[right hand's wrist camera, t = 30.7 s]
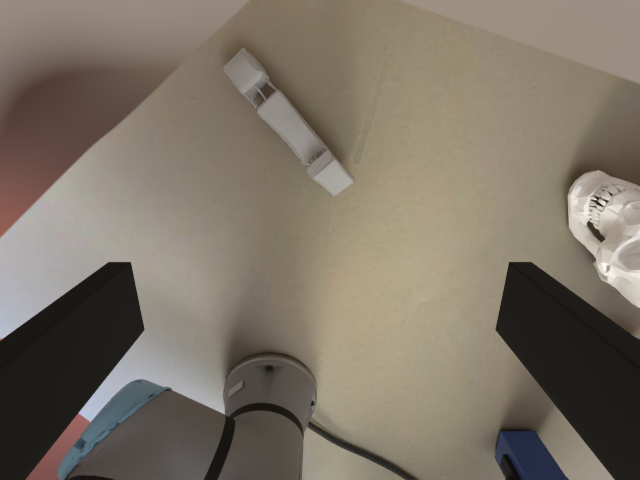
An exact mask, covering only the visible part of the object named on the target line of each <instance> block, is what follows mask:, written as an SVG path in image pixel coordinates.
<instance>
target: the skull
mask: <svg viewBox="0 0 640 480" xmlns="http://www.w3.org/2000/svg"><path fill="white" fill-rule="evenodd" d="M605 187H606V188H605ZM602 190H605V191H602ZM607 191H608V192H610V193H612V194H613V195H612V196H610V194H609V193H608V192H607ZM597 192H598V193H597ZM599 193H600V194H601V195H600V194H599ZM594 195H595V196H597V197H599V198H600V197H601V198H602V199H605V200H608V201H609V202H608V203H606V202H605V201H603V200H602V199H599V200H598V202H599V203H601V204H602V205H603V206H604V207H601V206H599V205H596V203H595V202H593V201H592V199H593V200H597V199H596V198H595V197H594ZM593 206H596V207H597V208H595V207H593ZM591 210H592V211H591ZM599 214H600V215H599ZM568 216H569V228H570V230H571V232H572V233H573V235H574V237H575V238H577V239H578V240H579V241H580V242H581V243H582V244H583V245H584V246H585V247H586V248H587V249H588V250H589V251H590V252H591V253H592V254H593V255H594V256H595V258H596V261H595V262H594V263H593V264H594V266H595V268H596V269H597V271H598V273H599V277H600V279H601V280H602V281H605V282H607V283H609V284H610V285H612V286H613V287H615V288H616V289H617V290H618V291H619V292H620V293H621V294H622V295H623V296H624V297H625V298H626V299H627V300H628V301H629V302H631V303H632V304H634V305H635V306H637V307H639V308H640V186H638V185H636V184H633V183H630V182H627V181H624V180H622V179H619V178H615V177H611V176H609V175H607V174H606V173H604V172H602V171H599V170H597V171H592V172H587V173H585V174H583V175H582V176H581V177H579V178H578V179H576V180H575V182H574V183H573V185H572V186H571V187H570V190H569V193H568ZM588 221H590V222H591V223H593V226H594V227H595V228H596V229H598V230H599V232H600V234H601V235H602V236H604V238H605V240H604V241H603V242H602V243H601V242H600V241H599V240H598V239H597V238H596V237H595V235H594V234H593V233H592V231H591V230H590V229H589V227H588V226H587V222H588Z"/></svg>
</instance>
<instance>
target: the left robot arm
mask: <svg viewBox="0 0 640 480" xmlns="http://www.w3.org/2000/svg"><path fill="white" fill-rule="evenodd" d="M500 467H501V469H502V471H503V473H504V475H505V477H506V479H505V480H521V479H520V477H519V475H518V473H517V471H516V470H515V468H514V466H513V464H512V462H511V460H510V459H509V457H508V455H507V454H503V455H502V459H501V463H500ZM566 478H567V477H566ZM567 479H568V478H567ZM568 480H569V479H568Z"/></svg>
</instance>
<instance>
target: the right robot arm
mask: <svg viewBox="0 0 640 480" xmlns="http://www.w3.org/2000/svg"><path fill="white" fill-rule="evenodd" d="M143 331H144V325H143V320H142V315H141V310H140V305H139V300H138V296H137V291H136V286H135V281H134V276H133V271H132V266H131V262H108V263H107V264H106V265H104V266H103V267H101V268H100V269H99V270H97V271H96V272H94V273H93V274H92V275H90V276H89V277H88V278H86V279H85V280H83V281H82V282H81V283H79V284H78V285H77V286H75V287H74V288H72V289H71V290H70V291H68V292H67V293H66V294H64V295H63V296H61V297H60V298H59V299H57V300H56V301H54V302H53V303H52V304H50V305H49V306H48V307H46V308H45V309H43V310H42V311H41V312H39V313H38V314H37V315H35V316H34V317H32V318H31V319H30V320H28V321H27V322H26V323H24V324H23V325H21V326H20V327H19V328H17V329H16V330H14V331H13V332H12V333H10V334H9V335H8V336H6V337H5V338H3V339H2V340H1V341H0V480H25V479H26V478H27V477H28V476H29V474H30V473H31V472H32V471H33V469H34V468H35V467H36V466H37V464H38V463H39V462H40V460H41V459H42V458H43V457H44V455H45V454H46V453H47V452H48V450H49V449H50V448H51V447H52V445H53V444H54V443H55V442H56V440H57V439H58V438H59V437H60V435H61V434H62V433H63V432H64V430H65V429H66V428H67V427H68V425H69V424H70V423H71V421H72V420H73V419H74V418H75V416H76V415H77V414H78V413H79V411H80V410H81V409H82V408H83V406H84V405H85V404H86V403H87V401H88V400H89V399H90V398H91V396H92V395H93V394H94V393H95V391H96V390H97V389H98V388H99V386H100V385H101V384H102V383H103V381H104V380H105V379H106V377H107V376H108V375H109V374H110V372H111V371H112V370H113V369H114V367H115V366H116V365H117V364H118V362H119V361H120V360H121V359H122V357H123V356H124V355H125V354H126V352H127V351H128V350H129V349H130V347H131V346H132V345H133V344H134V342H135V341H136V340H137V339H138V337H139V336H140V335H141V333H142V332H143ZM496 331H497V332H498V333H499V335H500V336H501V337H502V339H503V340H504V341H505V342H506V344H507V345H508V346H509V347H510V349H511V350H512V351H513V352H514V354H515V355H516V356H517V357H518V359H519V360H520V361H521V362H522V364H523V365H524V366H525V367H526V369H527V370H528V371H529V372H530V374H531V375H532V376H533V377H534V379H535V380H536V381H537V383H538V384H539V385H540V386H541V388H542V389H543V390H544V391H545V393H546V394H547V395H548V396H549V398H550V399H551V400H552V401H553V403H554V404H555V405H556V406H557V408H558V409H559V410H560V411H561V413H562V414H563V415H564V416H565V418H566V419H567V420H568V422H569V423H570V424H571V425H572V427H573V428H574V429H575V430H576V432H577V433H578V434H579V435H580V437H581V438H582V439H583V440H584V442H585V443H586V444H587V445H588V447H589V448H590V449H591V450H592V452H593V453H594V454H595V455H596V457H597V458H598V459H599V460H600V462H601V463H602V464H603V466H604V467H605V468H606V469H607V471H608V472H609V473H610V474H611V476H612V477H613V478H614V479H615V480H640V339H638V338H635V337H634V336H632V335H631V334H630V333H628V332H627V331H626V330H624V329H623V328H621V327H620V326H619V325H617V324H616V323H614V322H613V321H612V320H610V319H609V318H608V317H606V316H605V315H603V314H602V313H601V312H599V311H598V310H597V309H595V308H594V307H592V306H591V305H590V304H588V303H587V302H586V301H584V300H583V299H581V298H580V297H579V296H577V295H576V294H574V293H573V292H572V291H570V290H569V289H568V288H566V287H565V286H563V285H562V284H561V283H559V282H558V281H557V280H555V279H554V278H552V277H551V276H550V275H548V274H547V273H546V272H544V271H543V270H541V269H540V268H539V267H537V266H536V265H534V264H533V263H532V262H509V266H508V271H507V276H506V281H505V286H504V291H503V296H502V300H501V305H500V310H499V315H498V320H497V325H496ZM223 399H224V406H225V415H224V414H222V413H220V412H218V411H216V410H214V409H211V408H209V407H207V406H205V405H203V404H201V403H198V402H196V401H194V400H192V399H190V398H188V397H185V396H183V395H181V394H179V393H177V392H175V391H172V389H171V388H169V387H162V386H159V385H157V384H154V383H152V382H149V381H147V380H142V379H141V380H135V381H132V382H130V383H129V384H127V385H125V386H124V387H123V388H122V389H121V390H120V391H119V392H117V393H116V394H115V396H114V397H113V398H112V399H111V400H110V401H109V402H108V403H107V404H106V405H105V406H104V407H103V409H102V410H101V411H100V412H99V413H98V414H97V416H96V417H95V418H94V419H93V420H92V422H91V423H90V424H89V425H88V427H87V428H86V429H85V430H84V432H83V433H82V434H81V437H80V439H78V440H77V442H76V443H75V444H74V446H73V447H72V448H71V449H70V450H69V452H68V453H67V454H66V456H65V458H64V459H63V461H62V462H61V464H60V466H59V468H58V470H57V477H58V478H59V479H60V480H302V462H303V437H304V432H305V430H306V427H308V428H310V429H311V430H313V431H314V432H316V433H318V434H319V435H321V436H322V437H324V438H325V439H327V440H329V441H330V442H332V443H334V444H336V445H337V446H339V447H342V448H344V449H346V450H348V451H350V452H353V453H355V454H358V455H360V456H362V457H365V458H367V459H369V460H371V461H373V462H375V463H377V464H379V465H381V466H383V467H385V468H387V469H389V470H390V471H392V472H394V473H396V474H397V475H399V476H401V477H402V478H404V479H405V480H415V479H413V478H412V477H410V476H409V475H407V474H406V473H404V472H403V471H401V470H400V469H398V468H396V467H394V466H393V465H391V464H389V463H387V462H385V461H383V460H381V459H379V458H377V457H376V456H374V455H371V454H369V453H367V452H365V451H363V450H360V449H358V448H356V447H353V446H351V445H349V444H346V443H344V442H342V441H340V440H338V439H336V438H335V437H333V436H331V435H330V434H328V433H327V432H325V431H324V430H322V429H321V428H319V427H317V426H316V425H314V424H313V423H311V422H310V418H311V416H312V414H313V412H314V409H315V405H316V400H317V387H316V382H315V380H314V377H313V375H312V374H311V372H310V371H309V370H308V369H307V368H306V367H305V366H304V365H303V364H302V363H300V362H299V361H297V360H296V359H294V358H291V357H289V356H286V355H282V354H277V353H261V354H256V355H253V356H250V357H247V358H245V359H243V360H242V361H240V362H239V363H238V364H237V365H235V366H234V368H233V369H232V370H231V371H230V373H229V375H228V378H227V380H226V383H225V387H224V394H223Z"/></svg>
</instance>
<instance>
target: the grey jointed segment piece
mask: <svg viewBox="0 0 640 480" xmlns="http://www.w3.org/2000/svg"><path fill="white" fill-rule="evenodd" d="M223 70H224V72H225V74H226V75H227V76H228V78H229V79H230V80H231V82H232V83H233V84H234V86H235V87H236V88H237V90H238V91H239V92H240V93H241V94H242V95H244V96H245V97H246V98H247V99H248V100H249V101H250V102H251V103H252V104H253V105H254V106H255V108H256V109H257V111H256V112H257V114H258V115H259V116H260V117H261V118H262V119H263V120H264V121H265V122H266V123H267V124H268V125H269V126H270V127H271V128H272V129H273V130H274V131H275V132H276V133H277V134H278V135H279V136H280V137H281V138H282V139H283V141H284V142H285V143H286V144H287V145H288V146H289V147H290V148H291V149H292V151H293V152H294V153H295V154H296V156H297V157H298V158H299V159H300V161H301V162H302V163H303V164H304V165H305V166H307V168H306V169H305V171H306V172H307V173H308V174H309V175H310V176H311V177H312V178H313V179H314V180H315V181H316V182H318V183H319V184H320V185H321V186H322V187H323V188H325V189H326V190H327V191H328V192H329V193H330V194H331V195H332V196H336V195H338V194H339V193H340V192H342V191H343V190H344V189H346V188H347V187H348V186H350V185H351V184H352V183H353V182H354V178H353V176H352V175H351V174H350V173H349V172H348V171H347V170H346V169H345V167H344V166H343V165H342V164H341V163H340V162H339V161H338V160H337V159H336V157H335V156H334V155H333V154H332V153H331V151H330V150H329V148H328V147H327V146H326V145H325V144H324V143H323V141H322V140H321V139H320V138H319V137H318V135H317V134H316V133H315V132H314V130H313V129H312V128H311V127H310V126H309V124H308V123H307V122H306V121H305V120H304V118H303V117H302V116H301V115H300V113H299V112H298V111H297V110H296V109H295V107H294V106H293V105H292V104H291V103H290V101H289V100H288V99H287V98H286V96H285V95H284V94H283V93H282V92H281V91H280V90H279V89H276V88H275V87H274V86H273V85H272V83H271V82H270V81H269V80H270V79H269V77H268V75H267V73H266V71H265V69H264V68H263V67H262V66H261V64H260V63H259V62H258V61H257V59H256V58H255V57H254V56H253V55H251V54H250V53H249V52H248V51H247V50H246V49H245V48H242V49H241V50H240V51H239V52H238V53H237V54H236V55H235V56H234V57H233V58H232V59H231V60H230V61H229V62H228V63H227V64H226V65H225V66H224V67H223ZM266 83H268V85H269V86H271V87H272V88H273V89H274V90H275V91H274V92H273V93H272V94H271V95H270V96H269V97H268V98H266V97H265V96H264V95H263V93H262V92H261V91H260V89H261V88H262V87H263V86H264V85H265V84H266ZM258 92H259V93H260V94H261V95H262V96H263V98H264V100H265V101H264V102H263V103H262V104H261V105H260V106H258V105H257V103H256V102H255V101H254V99H255V97H256V96H257V94H258ZM252 101H253V102H254V103H255V104H254V103H253V102H252Z"/></svg>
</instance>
